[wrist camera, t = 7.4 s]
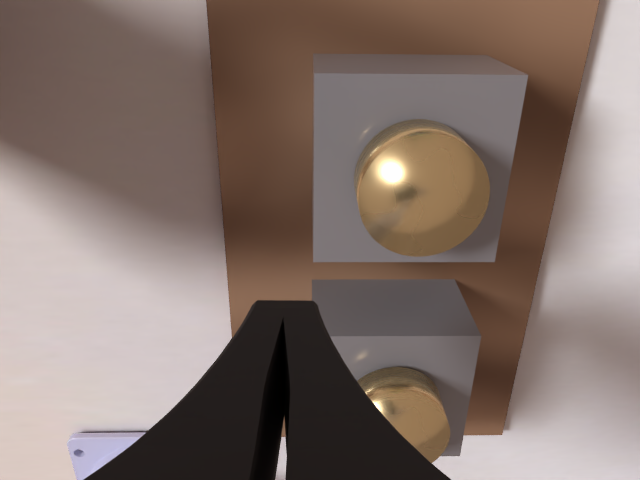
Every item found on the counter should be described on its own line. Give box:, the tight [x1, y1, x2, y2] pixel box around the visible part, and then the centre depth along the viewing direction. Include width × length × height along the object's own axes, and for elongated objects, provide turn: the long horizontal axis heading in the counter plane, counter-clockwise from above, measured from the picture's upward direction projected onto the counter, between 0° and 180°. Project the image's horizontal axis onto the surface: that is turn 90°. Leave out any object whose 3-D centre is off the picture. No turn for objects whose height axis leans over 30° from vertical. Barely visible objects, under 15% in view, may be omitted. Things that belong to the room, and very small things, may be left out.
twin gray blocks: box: [312, 54, 528, 456], centre depth 20 cm, size 15×6×4 cm, turn 179°
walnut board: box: [206, 0, 599, 437], centre depth 22 cm, size 21×13×1 cm, turn 179°
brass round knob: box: [354, 119, 490, 257], centre depth 17 cm, size 4×4×6 cm
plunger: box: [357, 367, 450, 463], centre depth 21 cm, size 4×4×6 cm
